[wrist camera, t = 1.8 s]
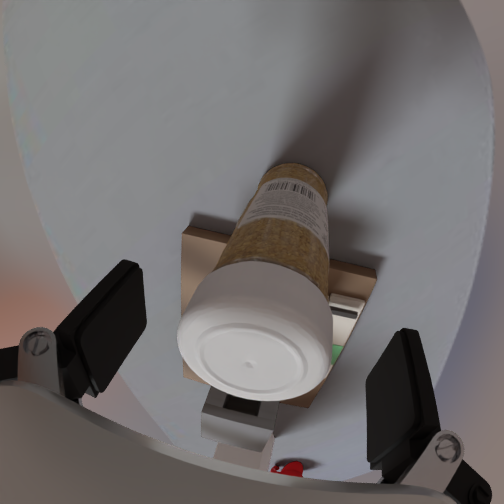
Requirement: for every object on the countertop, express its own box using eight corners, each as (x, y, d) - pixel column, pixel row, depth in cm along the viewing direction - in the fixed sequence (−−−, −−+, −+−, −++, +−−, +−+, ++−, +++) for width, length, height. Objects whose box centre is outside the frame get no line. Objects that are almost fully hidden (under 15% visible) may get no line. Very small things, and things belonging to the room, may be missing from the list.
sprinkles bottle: (247, 207, 20) (158, 367, 9) (277, 148, 18) (197, 271, 7) (307, 238, 21) (281, 420, 9) (342, 182, 18) (367, 351, 7)
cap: (297, 489, 43) (310, 499, 38) (267, 493, 42) (276, 505, 36) (298, 453, 46) (310, 461, 41) (266, 457, 45) (276, 466, 39)
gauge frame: (188, 225, 22) (137, 287, 16) (375, 269, 21) (389, 348, 14) (187, 369, 32) (162, 424, 25) (309, 399, 30) (301, 459, 24)
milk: (235, 434, 39) (194, 562, 21) (226, 415, 36) (176, 560, 18) (276, 438, 37) (241, 574, 19) (271, 420, 34) (229, 575, 16)
